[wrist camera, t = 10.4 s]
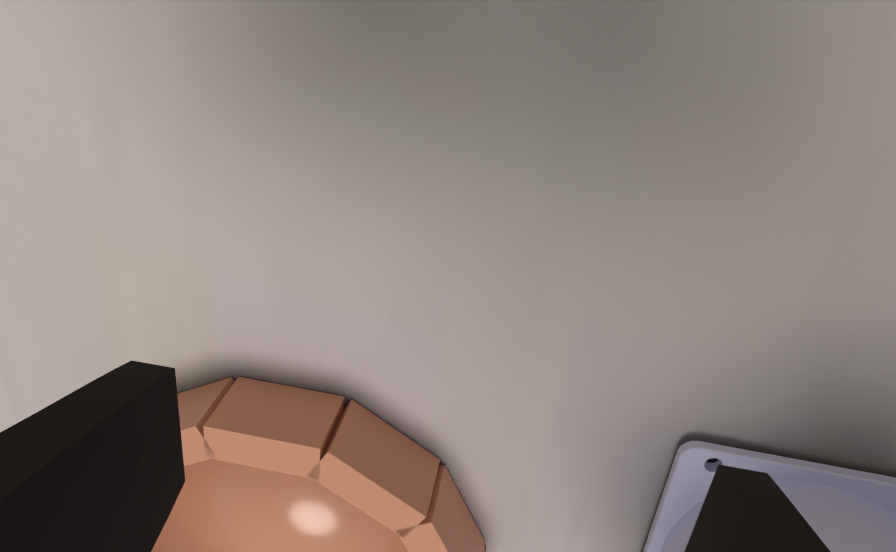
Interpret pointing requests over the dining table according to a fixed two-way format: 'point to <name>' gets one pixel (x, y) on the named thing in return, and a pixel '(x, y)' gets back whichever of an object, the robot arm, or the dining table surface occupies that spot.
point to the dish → (306, 478)
